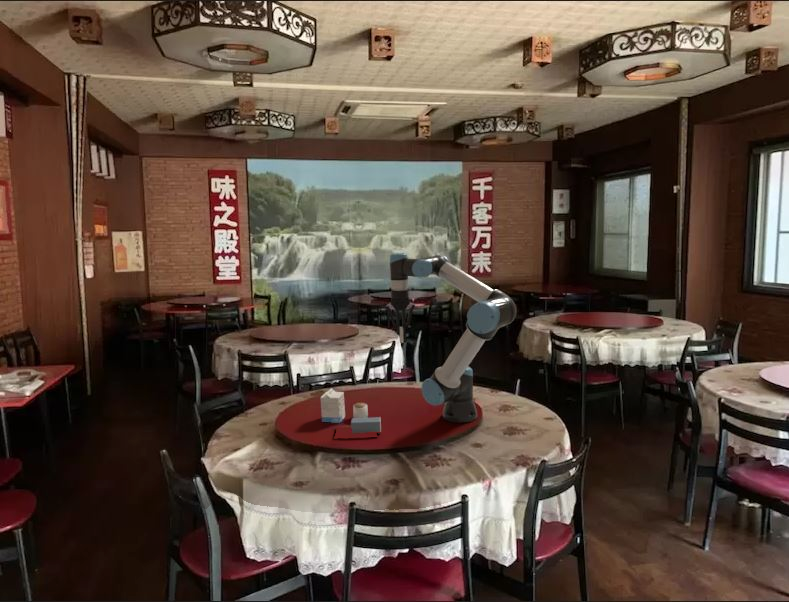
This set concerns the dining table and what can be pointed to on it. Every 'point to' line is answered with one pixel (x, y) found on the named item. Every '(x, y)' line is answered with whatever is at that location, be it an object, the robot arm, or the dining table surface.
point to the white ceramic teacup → (360, 410)
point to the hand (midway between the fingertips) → (401, 342)
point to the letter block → (366, 425)
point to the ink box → (332, 406)
